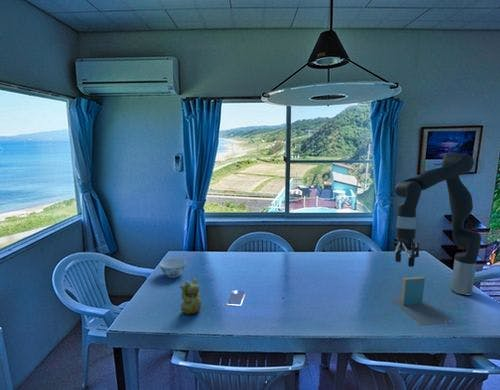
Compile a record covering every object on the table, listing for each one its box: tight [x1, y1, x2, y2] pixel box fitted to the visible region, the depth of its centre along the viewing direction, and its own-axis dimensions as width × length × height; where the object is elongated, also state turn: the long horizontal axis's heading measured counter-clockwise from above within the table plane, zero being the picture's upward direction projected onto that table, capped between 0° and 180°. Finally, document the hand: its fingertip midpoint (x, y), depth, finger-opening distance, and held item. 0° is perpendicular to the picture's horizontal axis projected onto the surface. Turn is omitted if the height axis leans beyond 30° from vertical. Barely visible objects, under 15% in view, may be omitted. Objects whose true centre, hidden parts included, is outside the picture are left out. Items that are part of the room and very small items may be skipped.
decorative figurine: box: [179, 277, 202, 316], centre depth 140 cm, size 10×8×15 cm
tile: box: [400, 276, 426, 305], centre depth 147 cm, size 2×10×13 cm, turn 100°
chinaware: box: [159, 257, 187, 279], centre depth 179 cm, size 15×15×8 cm
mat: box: [390, 298, 454, 326], centre depth 142 cm, size 22×16×1 cm
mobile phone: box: [225, 289, 247, 307], centre depth 154 cm, size 8×1×15 cm
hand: (404, 264), depth 135 cm, fingers open, 8 cm apart
